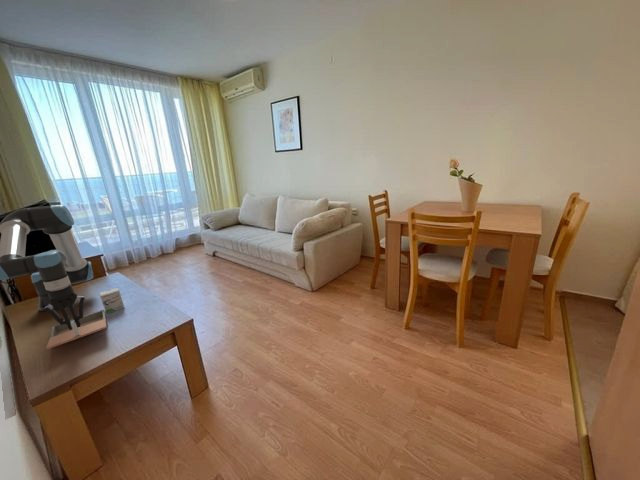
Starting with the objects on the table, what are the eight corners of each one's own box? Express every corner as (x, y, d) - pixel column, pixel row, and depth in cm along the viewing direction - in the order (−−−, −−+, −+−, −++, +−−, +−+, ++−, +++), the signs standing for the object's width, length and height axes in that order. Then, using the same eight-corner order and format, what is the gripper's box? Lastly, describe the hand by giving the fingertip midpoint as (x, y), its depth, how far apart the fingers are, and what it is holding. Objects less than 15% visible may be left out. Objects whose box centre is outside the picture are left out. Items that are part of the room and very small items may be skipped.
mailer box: (55, 333, 128) (52, 326, 127) (106, 316, 141) (103, 309, 139) (54, 346, 119) (50, 338, 117) (108, 326, 131) (105, 319, 130)
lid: (46, 347, 107) (46, 349, 107) (106, 326, 120) (106, 328, 120) (50, 337, 117) (50, 339, 117) (105, 318, 130) (105, 320, 130)
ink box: (106, 314, 143) (100, 295, 139) (105, 311, 146) (99, 292, 143) (124, 307, 149) (119, 289, 145) (123, 304, 152) (117, 287, 148)
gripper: (35, 296, 101) (57, 345, 108) (79, 284, 109) (96, 331, 117) (37, 290, 107) (58, 337, 114) (79, 279, 115) (95, 324, 122)
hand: (77, 333), depth 115 cm, fingers closed
